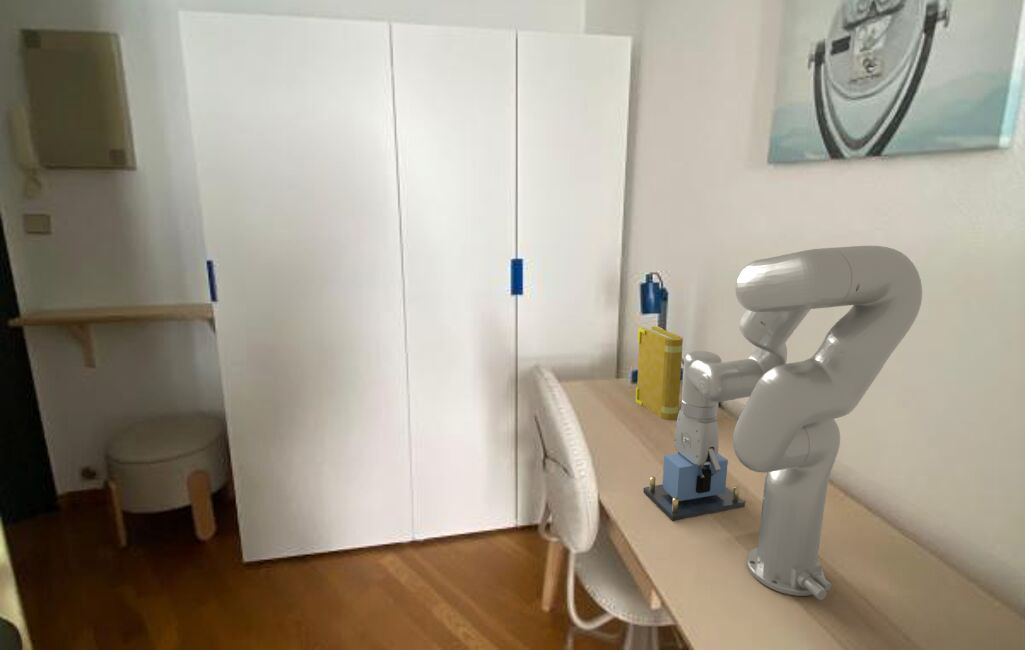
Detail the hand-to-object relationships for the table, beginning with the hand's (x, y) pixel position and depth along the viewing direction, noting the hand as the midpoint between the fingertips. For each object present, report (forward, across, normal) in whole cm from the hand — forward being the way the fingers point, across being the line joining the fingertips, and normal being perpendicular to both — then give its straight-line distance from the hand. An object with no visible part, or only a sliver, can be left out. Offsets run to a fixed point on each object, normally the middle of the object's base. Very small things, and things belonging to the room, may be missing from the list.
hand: (693, 483), depth 122 cm
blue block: (+2, 0, 0) cm, 2 cm away
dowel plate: (+4, 0, 0) cm, 4 cm away
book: (+4, -49, +20) cm, 53 cm away
